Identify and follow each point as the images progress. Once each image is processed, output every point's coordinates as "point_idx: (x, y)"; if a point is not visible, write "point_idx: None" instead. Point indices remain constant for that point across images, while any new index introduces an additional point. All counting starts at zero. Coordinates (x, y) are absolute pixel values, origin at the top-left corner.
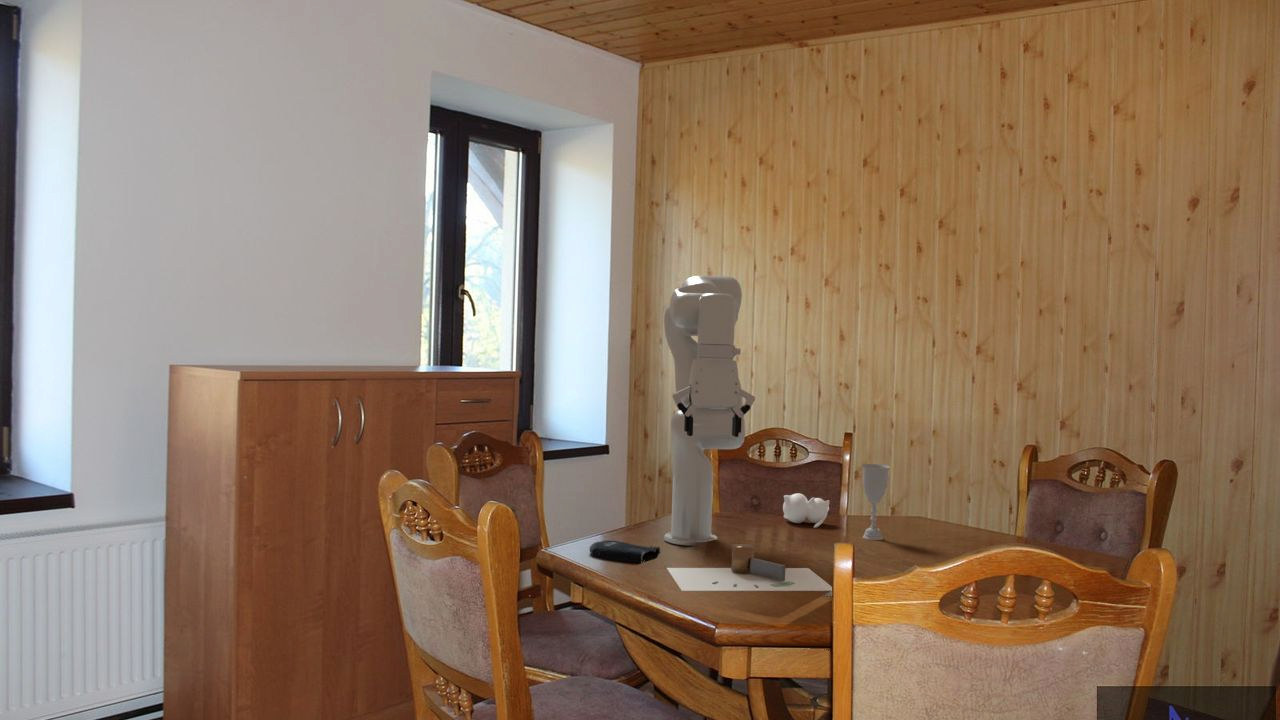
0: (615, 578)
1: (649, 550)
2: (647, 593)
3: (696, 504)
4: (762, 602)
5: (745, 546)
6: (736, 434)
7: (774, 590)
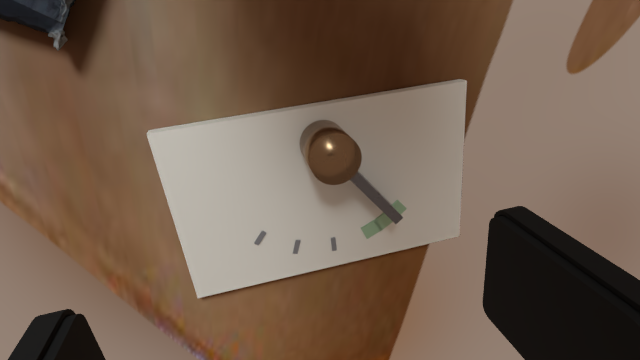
0: (32, 193)
1: (68, 6)
2: (131, 283)
3: None
4: (332, 285)
5: (341, 162)
6: (500, 324)
7: (360, 259)
